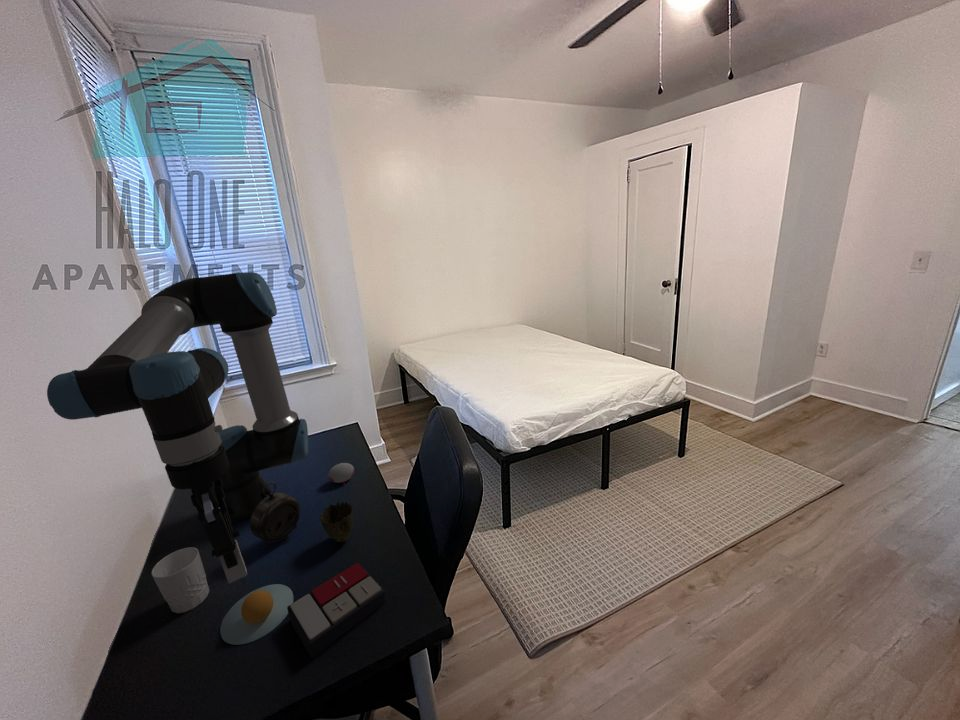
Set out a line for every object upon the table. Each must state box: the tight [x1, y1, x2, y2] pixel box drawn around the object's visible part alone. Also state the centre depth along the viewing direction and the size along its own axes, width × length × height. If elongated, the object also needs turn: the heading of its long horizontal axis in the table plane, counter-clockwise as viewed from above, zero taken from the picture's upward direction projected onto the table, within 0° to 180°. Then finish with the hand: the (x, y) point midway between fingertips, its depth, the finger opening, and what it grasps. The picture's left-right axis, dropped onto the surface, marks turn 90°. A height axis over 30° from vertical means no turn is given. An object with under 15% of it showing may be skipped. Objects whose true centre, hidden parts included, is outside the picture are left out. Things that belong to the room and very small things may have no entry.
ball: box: [241, 590, 273, 624], centre depth 76 cm, size 6×6×6 cm
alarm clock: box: [249, 481, 301, 551], centre depth 95 cm, size 11×5×16 cm, turn 150°
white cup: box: [150, 546, 210, 614], centre depth 81 cm, size 8×8×10 cm
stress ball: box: [327, 462, 355, 486], centre depth 120 cm, size 8×8×7 cm
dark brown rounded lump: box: [319, 501, 354, 544], centre depth 95 cm, size 8×7×8 cm
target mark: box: [219, 583, 294, 646], centre depth 78 cm, size 13×13×1 cm
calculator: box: [287, 562, 387, 659], centre depth 76 cm, size 11×4×15 cm
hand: (237, 576), depth 66 cm, fingers closed
